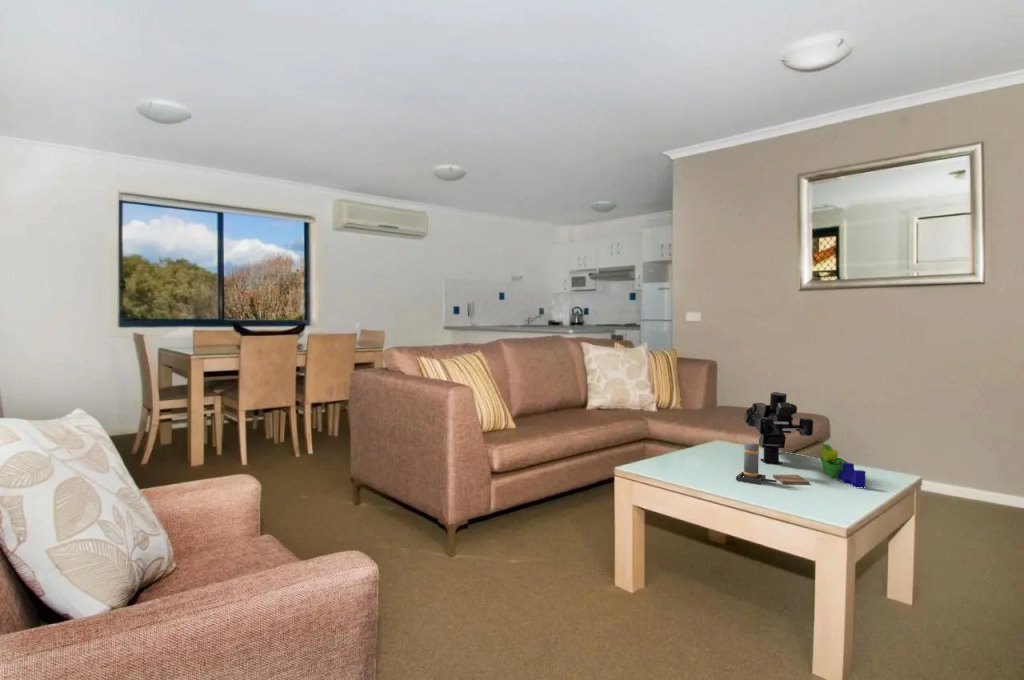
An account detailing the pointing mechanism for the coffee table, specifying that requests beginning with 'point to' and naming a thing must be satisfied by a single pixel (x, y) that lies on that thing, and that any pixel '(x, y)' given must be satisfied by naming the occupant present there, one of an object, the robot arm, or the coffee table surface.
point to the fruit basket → (831, 461)
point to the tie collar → (752, 480)
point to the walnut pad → (791, 479)
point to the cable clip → (852, 475)
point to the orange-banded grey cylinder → (751, 460)
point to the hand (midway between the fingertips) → (793, 433)
